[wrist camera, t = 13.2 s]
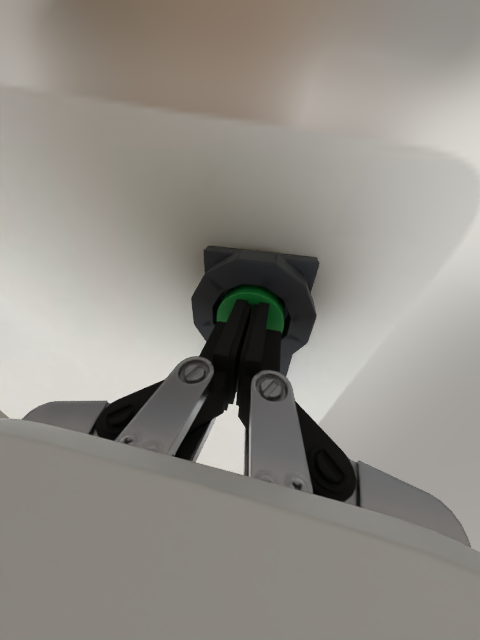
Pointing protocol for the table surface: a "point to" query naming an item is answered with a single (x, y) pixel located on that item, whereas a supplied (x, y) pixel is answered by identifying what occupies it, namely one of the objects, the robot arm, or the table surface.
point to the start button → (254, 297)
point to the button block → (266, 271)
